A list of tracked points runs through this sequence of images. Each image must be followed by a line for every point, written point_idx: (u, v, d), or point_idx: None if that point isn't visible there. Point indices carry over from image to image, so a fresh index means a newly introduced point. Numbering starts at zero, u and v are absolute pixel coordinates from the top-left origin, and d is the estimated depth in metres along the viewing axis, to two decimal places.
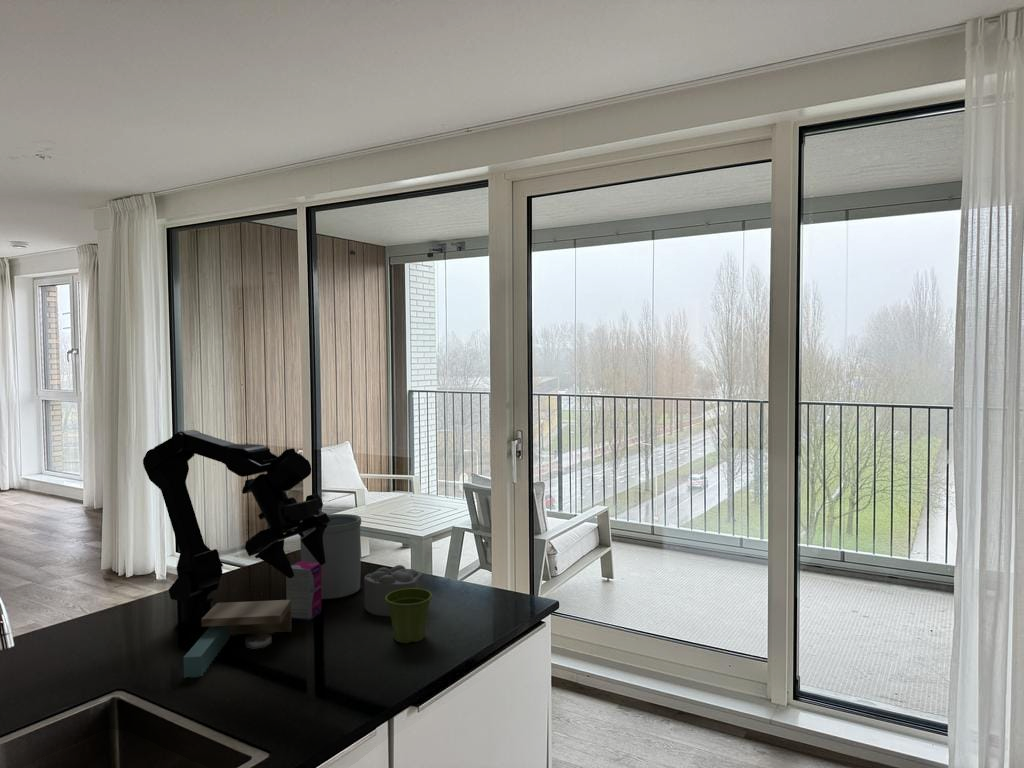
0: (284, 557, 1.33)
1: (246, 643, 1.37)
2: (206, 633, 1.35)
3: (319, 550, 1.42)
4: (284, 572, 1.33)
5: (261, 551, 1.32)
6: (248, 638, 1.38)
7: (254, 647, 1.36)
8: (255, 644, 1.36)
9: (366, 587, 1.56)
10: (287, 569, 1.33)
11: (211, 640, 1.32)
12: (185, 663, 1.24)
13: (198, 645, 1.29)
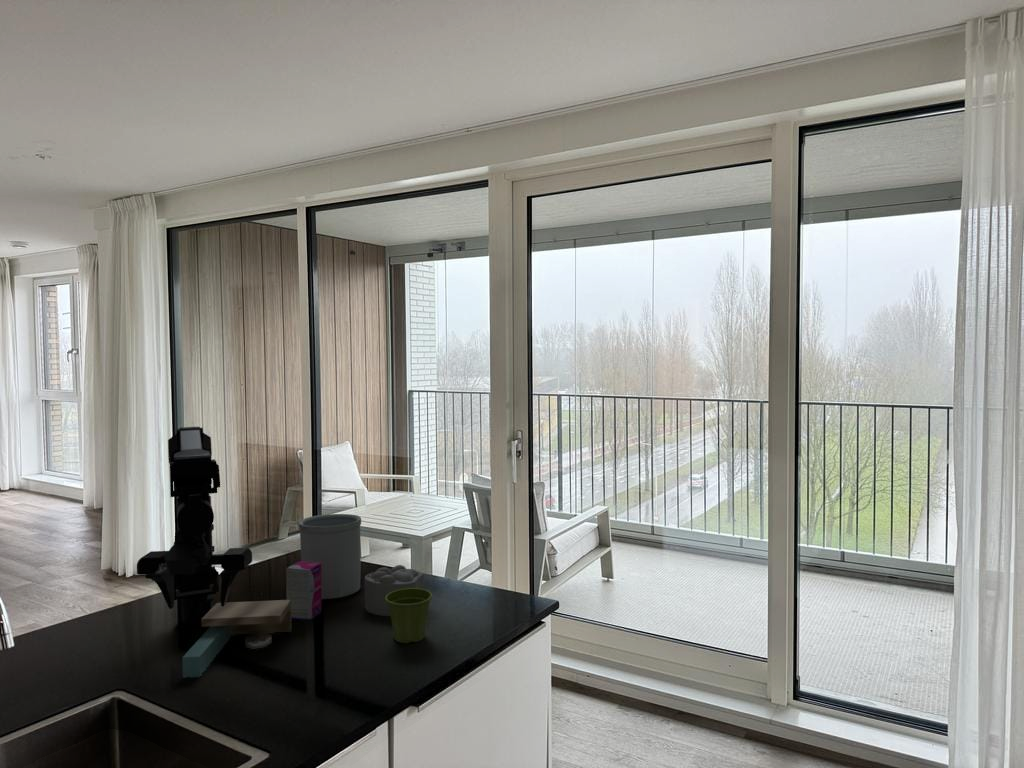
0: (163, 589, 1.26)
1: (246, 643, 1.37)
2: (206, 633, 1.35)
3: None
4: None
5: None
6: (248, 638, 1.38)
7: (254, 647, 1.36)
8: (255, 644, 1.36)
9: (366, 587, 1.56)
10: None
11: (211, 640, 1.32)
12: (184, 663, 1.24)
13: (198, 645, 1.29)
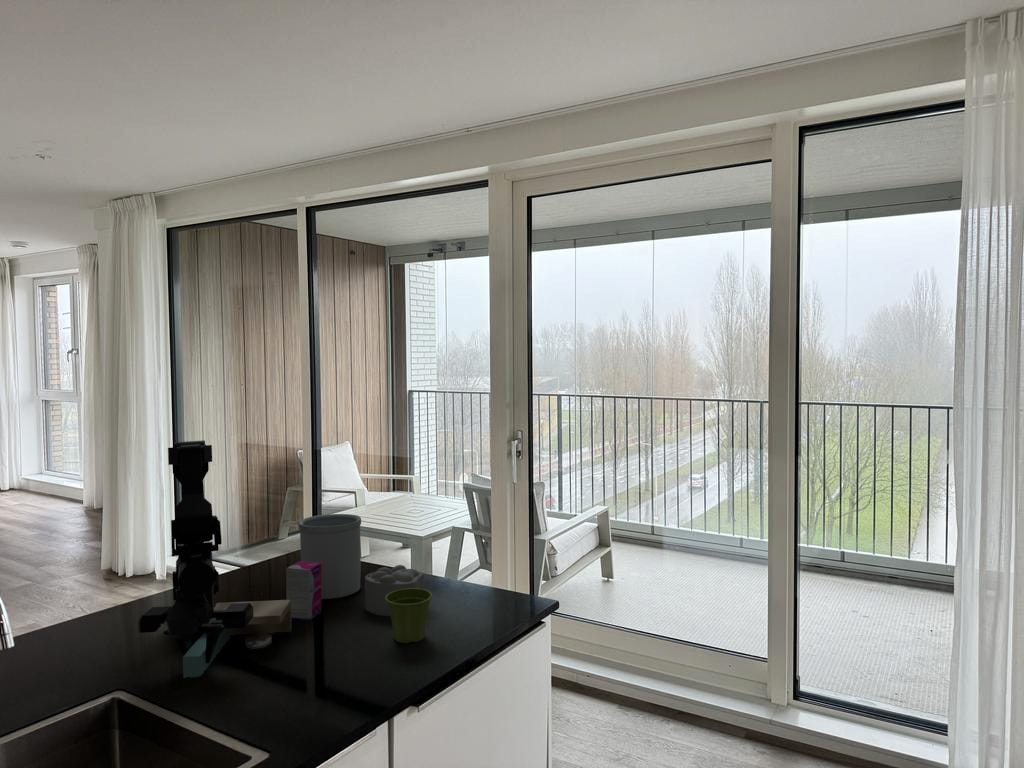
0: (181, 645, 1.26)
1: (246, 643, 1.37)
2: None
3: None
4: None
5: None
6: (248, 638, 1.38)
7: (254, 647, 1.36)
8: (255, 644, 1.36)
9: (367, 587, 1.56)
10: None
11: None
12: (184, 663, 1.24)
13: (198, 645, 1.29)
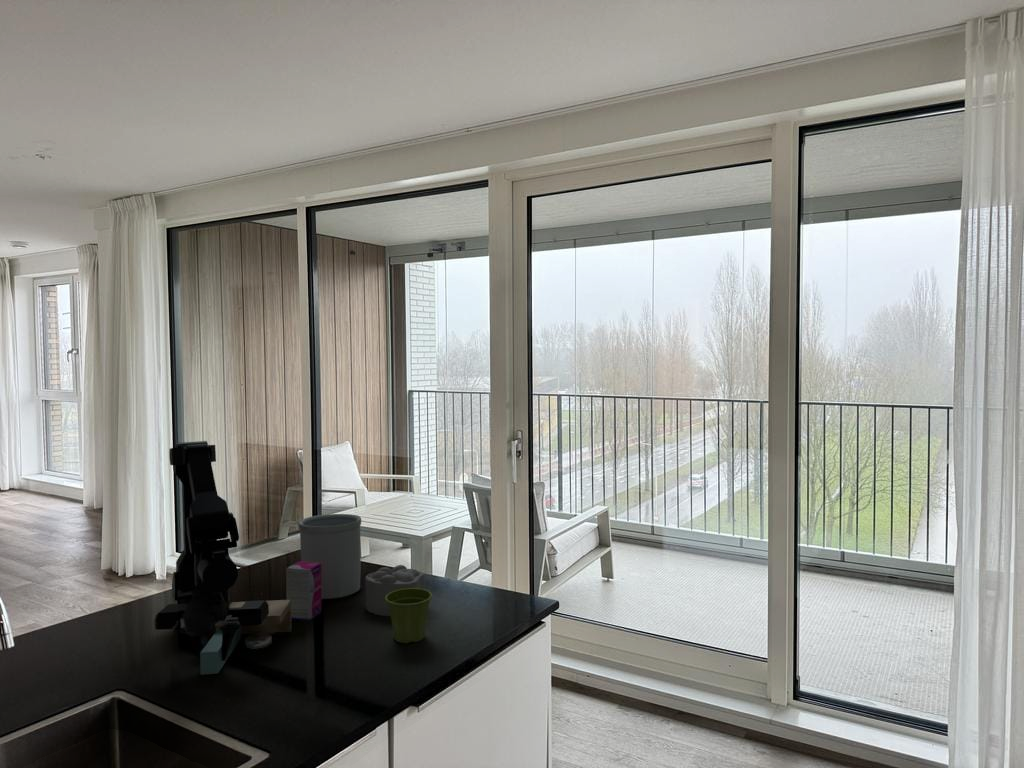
0: (197, 642, 1.27)
1: (246, 643, 1.37)
2: (219, 630, 1.35)
3: None
4: None
5: None
6: (248, 638, 1.38)
7: (254, 647, 1.36)
8: (255, 644, 1.36)
9: (367, 587, 1.56)
10: None
11: None
12: (201, 659, 1.25)
13: (213, 641, 1.30)
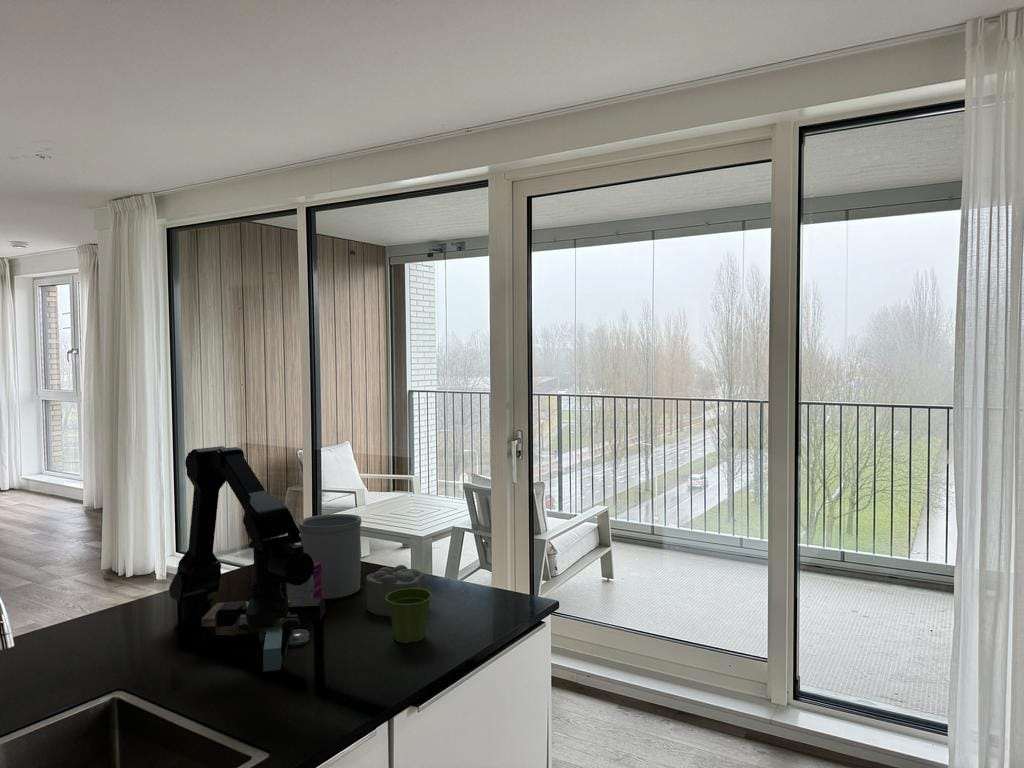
0: (255, 639, 1.27)
1: None
2: (269, 628, 1.36)
3: None
4: None
5: None
6: None
7: (293, 643, 1.37)
8: (294, 640, 1.37)
9: (368, 587, 1.56)
10: None
11: (279, 633, 1.33)
12: (264, 655, 1.26)
13: (270, 638, 1.31)
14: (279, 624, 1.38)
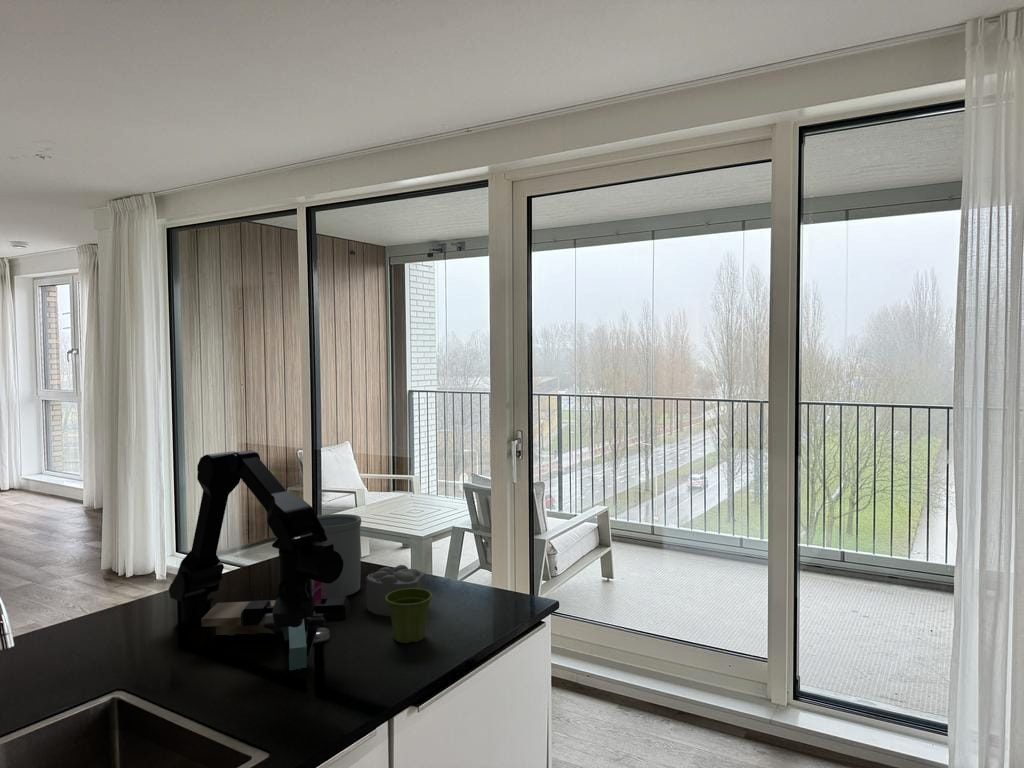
0: (280, 638, 1.28)
1: (306, 638, 1.39)
2: (291, 627, 1.36)
3: None
4: None
5: None
6: None
7: (314, 641, 1.38)
8: (316, 638, 1.39)
9: (368, 587, 1.56)
10: None
11: (303, 632, 1.34)
12: (290, 654, 1.26)
13: (294, 637, 1.31)
14: None
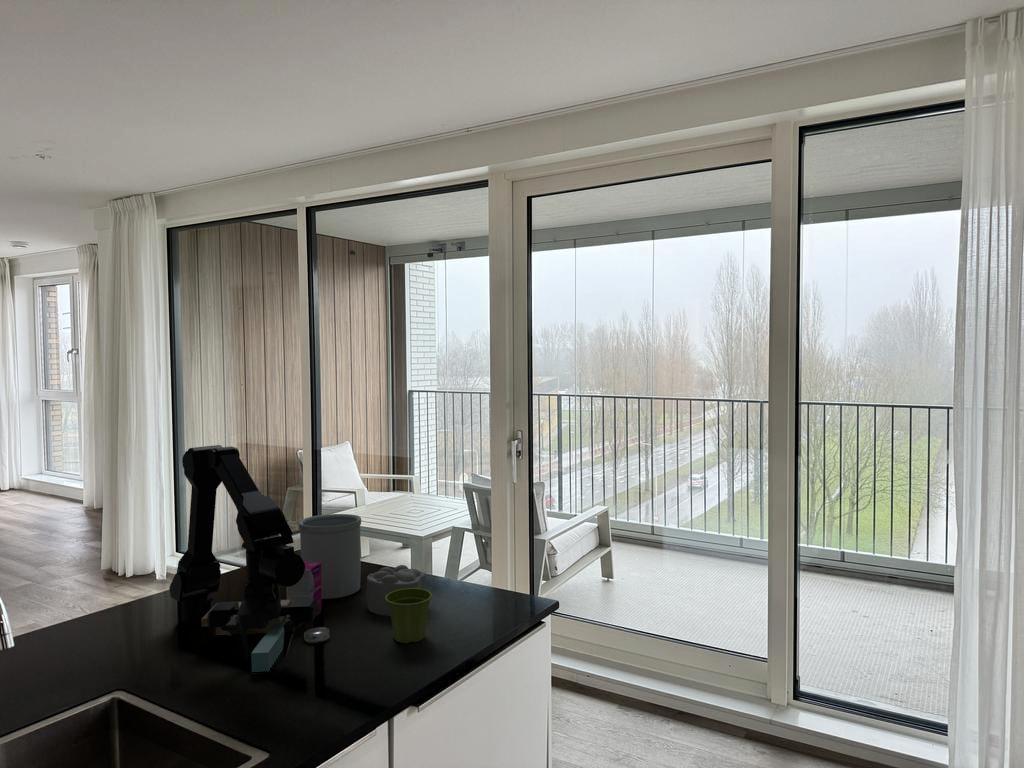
0: (238, 640, 1.27)
1: (306, 638, 1.39)
2: (271, 629, 1.37)
3: None
4: None
5: None
6: (307, 633, 1.40)
7: (315, 641, 1.39)
8: (316, 638, 1.39)
9: (369, 587, 1.56)
10: None
11: (277, 636, 1.33)
12: (252, 659, 1.26)
13: (264, 641, 1.31)
14: None
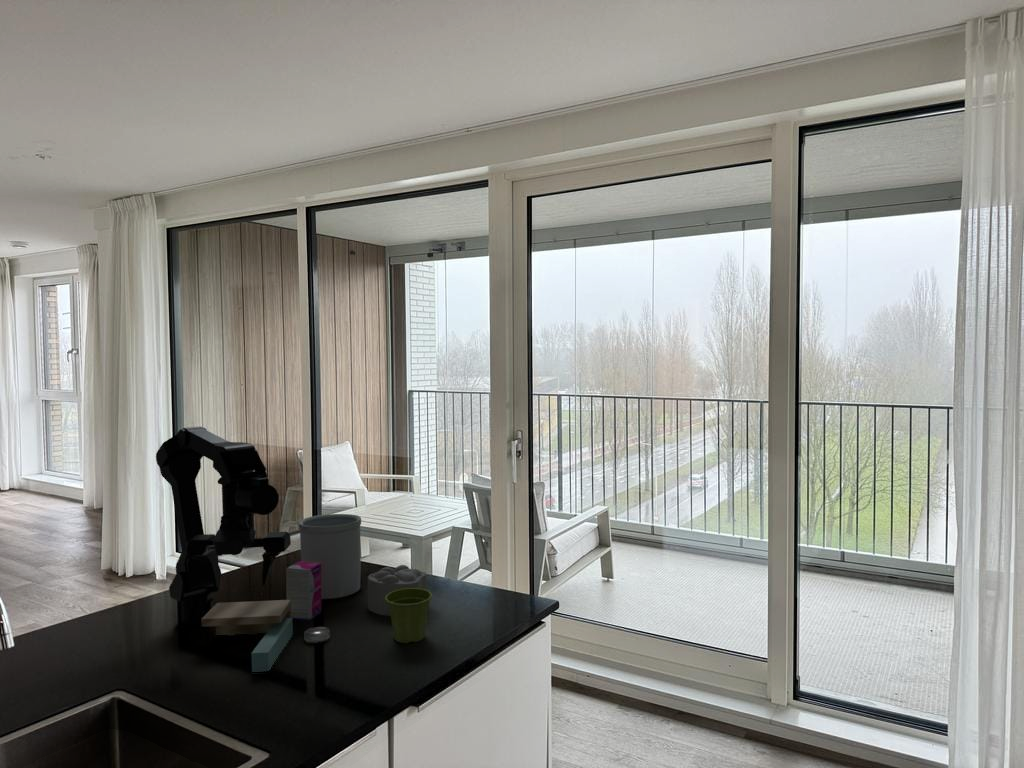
0: (209, 569, 1.36)
1: (309, 638, 1.39)
2: (271, 629, 1.36)
3: None
4: None
5: None
6: (307, 633, 1.40)
7: (319, 641, 1.39)
8: (320, 637, 1.39)
9: (369, 587, 1.56)
10: None
11: (277, 636, 1.33)
12: (253, 659, 1.26)
13: (264, 641, 1.31)
14: (283, 626, 1.38)
